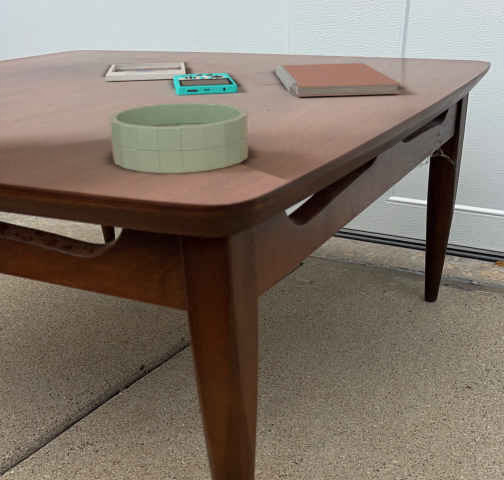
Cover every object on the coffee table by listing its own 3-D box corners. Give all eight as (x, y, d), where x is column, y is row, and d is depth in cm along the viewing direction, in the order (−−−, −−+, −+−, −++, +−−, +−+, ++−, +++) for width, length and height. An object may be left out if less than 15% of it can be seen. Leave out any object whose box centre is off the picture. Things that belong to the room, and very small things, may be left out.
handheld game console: (228, 79, 126) (228, 71, 125) (239, 92, 112) (238, 83, 111) (173, 81, 125) (172, 73, 124) (177, 95, 110) (176, 86, 110)
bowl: (151, 190, 61) (147, 134, 59) (93, 161, 71) (88, 112, 69) (274, 167, 68) (273, 115, 66) (205, 143, 78) (203, 98, 76)
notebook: (274, 75, 130) (274, 64, 129) (362, 72, 131) (362, 61, 130) (290, 98, 105) (290, 84, 104) (399, 94, 106) (400, 81, 105)
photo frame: (105, 74, 125) (112, 63, 142) (105, 81, 126) (113, 69, 142) (185, 71, 127) (183, 61, 143) (186, 78, 127) (183, 66, 143)
